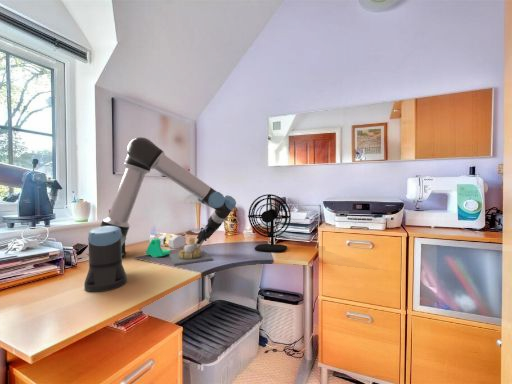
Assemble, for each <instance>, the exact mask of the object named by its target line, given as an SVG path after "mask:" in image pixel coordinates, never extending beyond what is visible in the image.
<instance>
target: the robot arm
mask: <svg viewBox="0 0 512 384" xmlns="http://www.w3.org/2000/svg"><path fill="white" fill-rule="evenodd" d="M126 148H127V149H126V151H127V155H126V158H125V160H124V162H123V165H124V167H125V170H124V173H123V175H122V178H121V181H120V184H119V186H118V190H117V192H116V194H115V197H114V200H113V202H112V205H111V207H110V209H111V210H110V209H109V210H110V213H109V212H108V216H107V217H105V218H104V219H102V220H101V223H100V226H98V227H94V228H92V229H91V230H89V232H88V236H87V241H88V272H87V275H86V277H85V280H84V288H83V289H84V290H85V291H87V292H91V293H92V292H93V293H94V292H97V293H98V292H105V291H111V290H114V289H117V288H120V287H122V286H124V285H126V283H127V282H128V276H127V273H126V269H125V268H124V266H123V257H122V245H123V244H124V242H125V243H126V240H127V235H128V232H129V229H130V227H131V225H130V224H129V219H130V218H131V213H132V212H133V211H132V210H133V208H134V207H135V203H136V200H137V197H138V195H139V192H140V189H141V187H142V184H143V181H144V178H145V175H147V174H148V173H150V172H151V170H156V171H157V172H159V173H160V174H161V175H163V176H165V177H166V178H168V179H169V180H171V181H172V182H174V183H176V185H178V186H180V187H181V188H183V189H184V190H185V191H187V192H188V193H191V195H193V196H195V197H197V202H200V203H201V204H204V205H205V206H207V207H209V208H211V209H213V210H214V211H213V213H211V215H210V216H209V218H208V220H207V224H206V225H205V227H200V231H199V232H198V235H197V237H196V238H197V241H195V248H197V247H199V248H200V247H201V246H202V245H203V243H204V242H207V241H208V239H210V238H211V236H213V234H214V233H215V232H216V231H217V230H218V229H219V228H220V227H221V226H222V224H223V223H224V222H225V220H226V219H227V217H228V216H229V215H230V214H231V213H232V211H234V208H235V207H236V205H237V200H236V199H235V198H234V197H233V196H232V195H225V196H224V194H223V193H221V192H219V191H216V190H215V189H214V188H212V187H211V186H210V185H209V184H207V183H205V182H204V181H203V180H201V179H200V178H198V177H197V176H196V175H194V174H193V173H191V172H190V171H188V170H187V169H186V168H184V167H183V166H181V165H180V164H178V163H177V162H176V161H174V160H173V159H171V158H170V157H168V156H167V155H166V153H165V151H164V150H162V149H161V148H160V147H158V145H156V144H155V143H154V142H152V141H151V140H150V139H148V138H146V137H140V136H139V137H135V138H133V139H131V141H129V143H128V145H127V147H126Z"/></svg>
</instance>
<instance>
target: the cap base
mask: <svg viewBox="0 0 512 384" xmlns="http://www.w3.org/2000/svg"><path fill="white" fill-rule="evenodd" d="M183 248H184V251H185V253H193V251H195V248H196V247H195V245H193V244H190V245H189V244H185V246H183ZM200 250H201V256H200V257H197V258H192V259H182V258H179V257H178V252H177V253H170V254H168V257H169V259H170V261H171V262H172V264H173V265H174V266H175V267H176V266H182V265H187V264H194V263H201V262H203V263H204V262H208V261H213V257H211V255H209V254H208V253H207V252H206V251H205V250H202V249H200Z"/></svg>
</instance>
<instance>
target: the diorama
mask: <svg viewBox="0 0 512 384" xmlns="http://www.w3.org/2000/svg"><path fill="white" fill-rule="evenodd" d="M155 228H156V227H155V226H153V227H152V228H151V229H150V231H151V232H150V233H151V234H150V235H149V240H148V241H149V243H150V242H151V240H153V239H155V238H156V237H157V236H158V235H161V236H159V237H158V239H160V241H161V244H160V246H161V248H163V247H164V248H165V247H166V245H165V244H168V247H169V248H170V249H174V250H175V249H178V248H184V246H185V245H187V242H186V241H187V240H186V236H184V235H182V234H181V235H180V234H173V233H165V232H159V231H158V232H156V229H155Z"/></svg>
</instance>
